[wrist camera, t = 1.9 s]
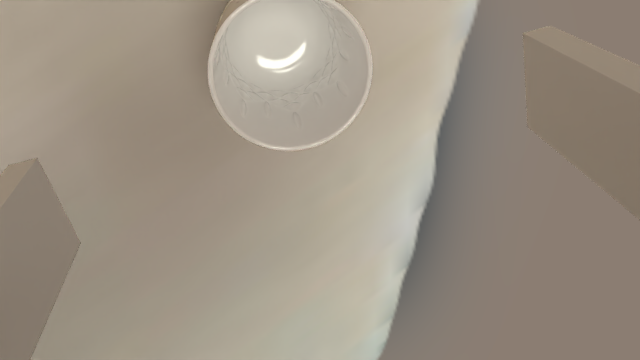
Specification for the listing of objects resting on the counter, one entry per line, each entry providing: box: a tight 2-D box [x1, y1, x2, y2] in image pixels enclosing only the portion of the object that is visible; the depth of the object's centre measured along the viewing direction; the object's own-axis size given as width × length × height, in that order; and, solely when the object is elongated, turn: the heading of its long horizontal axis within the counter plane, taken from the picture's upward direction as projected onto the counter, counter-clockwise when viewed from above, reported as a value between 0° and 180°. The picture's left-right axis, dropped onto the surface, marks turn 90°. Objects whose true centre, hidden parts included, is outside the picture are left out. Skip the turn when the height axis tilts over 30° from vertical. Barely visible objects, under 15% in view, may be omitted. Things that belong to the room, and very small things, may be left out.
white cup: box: [207, 0, 373, 151], centre depth 32 cm, size 8×8×10 cm
